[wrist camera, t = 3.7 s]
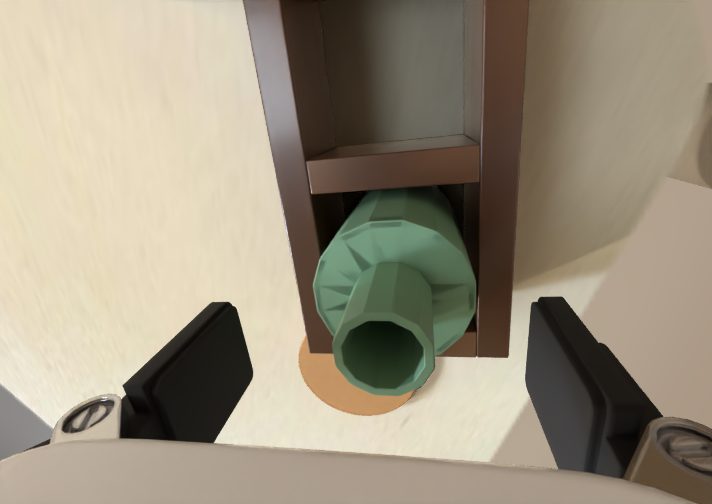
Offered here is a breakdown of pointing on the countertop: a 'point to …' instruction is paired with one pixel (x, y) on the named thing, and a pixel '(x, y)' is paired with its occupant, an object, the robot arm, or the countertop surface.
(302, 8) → the rack
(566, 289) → the countertop surface
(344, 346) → the bottle
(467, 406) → the countertop surface
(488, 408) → the countertop surface
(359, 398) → the coaster
